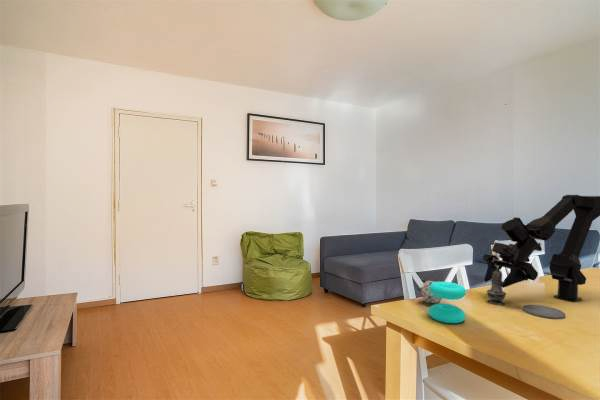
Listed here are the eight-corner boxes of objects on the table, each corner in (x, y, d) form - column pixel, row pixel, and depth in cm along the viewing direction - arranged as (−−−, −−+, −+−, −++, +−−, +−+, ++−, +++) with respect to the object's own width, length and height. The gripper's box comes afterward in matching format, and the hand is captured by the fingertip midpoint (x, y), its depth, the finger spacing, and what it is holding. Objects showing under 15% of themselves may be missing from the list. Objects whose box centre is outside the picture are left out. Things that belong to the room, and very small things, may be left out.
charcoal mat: (532, 305, 115) (532, 302, 115) (571, 315, 106) (571, 312, 106) (515, 310, 109) (515, 307, 109) (555, 321, 100) (555, 318, 100)
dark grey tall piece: (509, 306, 114) (510, 270, 113) (489, 304, 115) (490, 269, 115) (502, 300, 119) (503, 266, 119) (484, 299, 121) (485, 265, 120)
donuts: (422, 282, 103) (445, 279, 107) (421, 315, 103) (444, 310, 108) (449, 291, 94) (473, 287, 98) (448, 327, 94) (472, 321, 99)
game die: (432, 316, 113) (429, 297, 107) (414, 300, 120) (410, 281, 114) (453, 302, 114) (451, 282, 109) (434, 287, 121) (431, 267, 116)
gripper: (487, 231, 127) (460, 262, 124) (531, 238, 108) (501, 274, 106) (504, 252, 129) (478, 282, 126) (551, 262, 110) (521, 298, 108)
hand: (493, 283), depth 117 cm, fingers open, 7 cm apart
